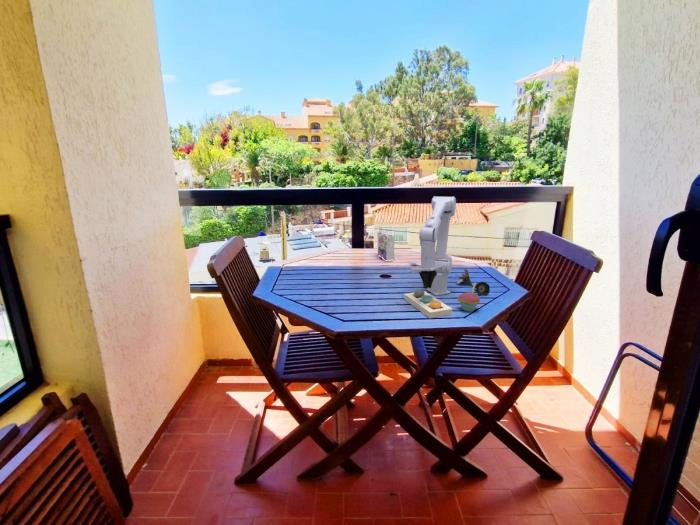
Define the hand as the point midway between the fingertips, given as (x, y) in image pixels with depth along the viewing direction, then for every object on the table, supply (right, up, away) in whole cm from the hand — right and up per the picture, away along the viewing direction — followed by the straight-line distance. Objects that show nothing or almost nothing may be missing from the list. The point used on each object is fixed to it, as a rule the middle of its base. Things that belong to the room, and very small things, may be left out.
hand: (427, 287), depth 164 cm
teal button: (0, -7, +2) cm, 7 cm away
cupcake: (+16, -9, -2) cm, 19 cm away
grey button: (-2, -5, +8) cm, 10 cm away
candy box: (-10, +13, +80) cm, 82 cm away
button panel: (0, -8, +2) cm, 8 cm away
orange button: (+2, -8, -5) cm, 10 cm away
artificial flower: (+25, -2, +23) cm, 34 cm away
